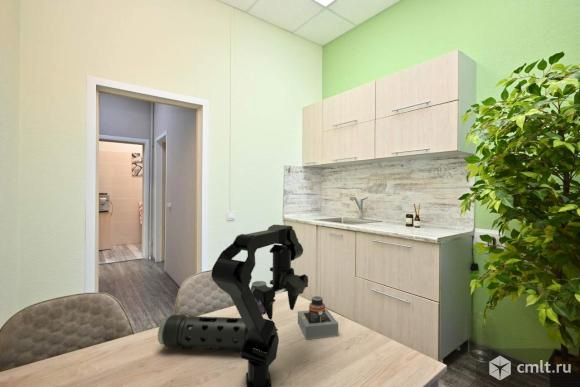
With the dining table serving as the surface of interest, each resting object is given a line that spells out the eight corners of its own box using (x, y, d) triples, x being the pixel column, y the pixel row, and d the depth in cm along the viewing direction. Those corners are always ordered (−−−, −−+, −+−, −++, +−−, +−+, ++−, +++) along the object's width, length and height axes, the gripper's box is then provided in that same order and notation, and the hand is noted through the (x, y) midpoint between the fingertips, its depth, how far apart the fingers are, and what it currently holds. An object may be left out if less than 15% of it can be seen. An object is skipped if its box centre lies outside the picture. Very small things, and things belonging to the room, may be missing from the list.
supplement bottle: (325, 332, 97) (325, 301, 96) (308, 331, 97) (309, 301, 97) (324, 324, 103) (324, 295, 102) (309, 323, 103) (309, 294, 103)
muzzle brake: (244, 359, 82) (244, 326, 82) (156, 355, 84) (156, 322, 84) (250, 342, 92) (250, 312, 91) (171, 338, 93) (171, 309, 93)
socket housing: (338, 336, 95) (338, 322, 95) (305, 339, 93) (305, 326, 93) (326, 319, 107) (326, 308, 107) (297, 322, 105) (297, 310, 105)
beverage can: (247, 313, 112) (247, 285, 112) (254, 306, 119) (254, 279, 119) (263, 316, 110) (263, 287, 110) (269, 308, 117) (269, 281, 117)
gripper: (276, 277, 71) (276, 335, 72) (320, 264, 85) (320, 313, 85) (251, 268, 79) (251, 321, 79) (295, 257, 92) (294, 302, 93)
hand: (281, 314), depth 84 cm, fingers open, 9 cm apart
